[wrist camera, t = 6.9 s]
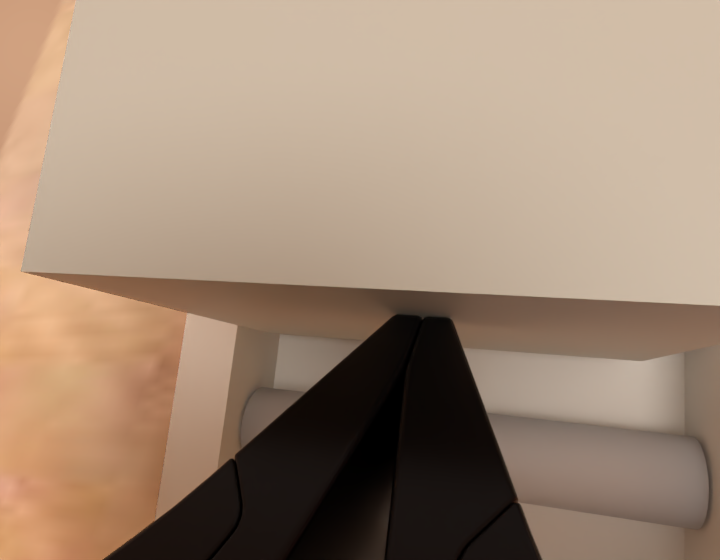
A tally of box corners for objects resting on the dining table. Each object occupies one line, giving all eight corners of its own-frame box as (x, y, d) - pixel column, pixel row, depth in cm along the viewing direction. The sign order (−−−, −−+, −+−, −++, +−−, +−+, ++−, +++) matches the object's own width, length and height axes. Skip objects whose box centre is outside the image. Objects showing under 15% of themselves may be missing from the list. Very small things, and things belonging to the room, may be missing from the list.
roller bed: (739, 740, 13) (835, 882, 9) (214, 614, 17) (129, 679, 13) (727, -66, 17) (791, -198, 13) (301, -24, 21) (255, -118, 17)
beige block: (641, 361, 12) (863, 312, 5) (271, 333, 15) (21, 271, 7) (643, -33, 14) (804, -530, 6) (311, -1, 16) (144, -339, 9)
